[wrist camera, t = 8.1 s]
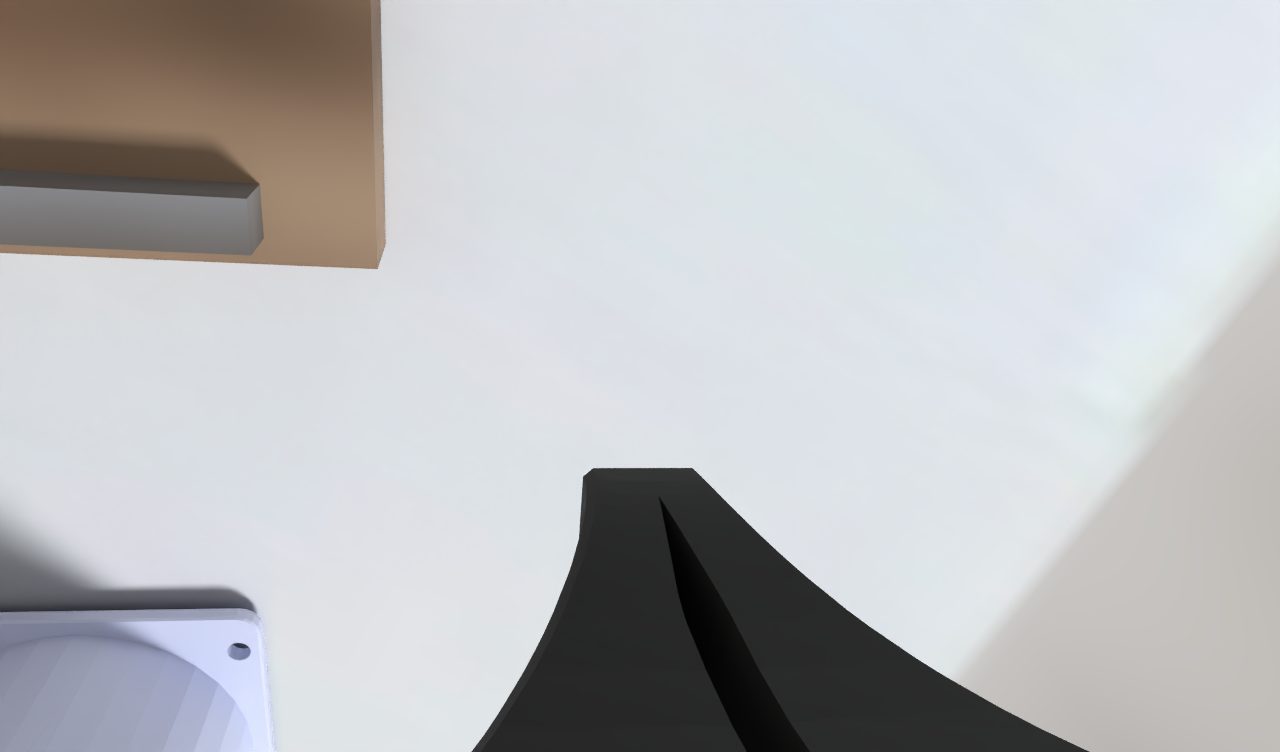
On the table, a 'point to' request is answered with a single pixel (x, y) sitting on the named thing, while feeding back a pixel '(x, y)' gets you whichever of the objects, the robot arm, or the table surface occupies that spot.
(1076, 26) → the table surface
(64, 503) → the table surface
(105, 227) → the keeper track
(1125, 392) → the table surface
